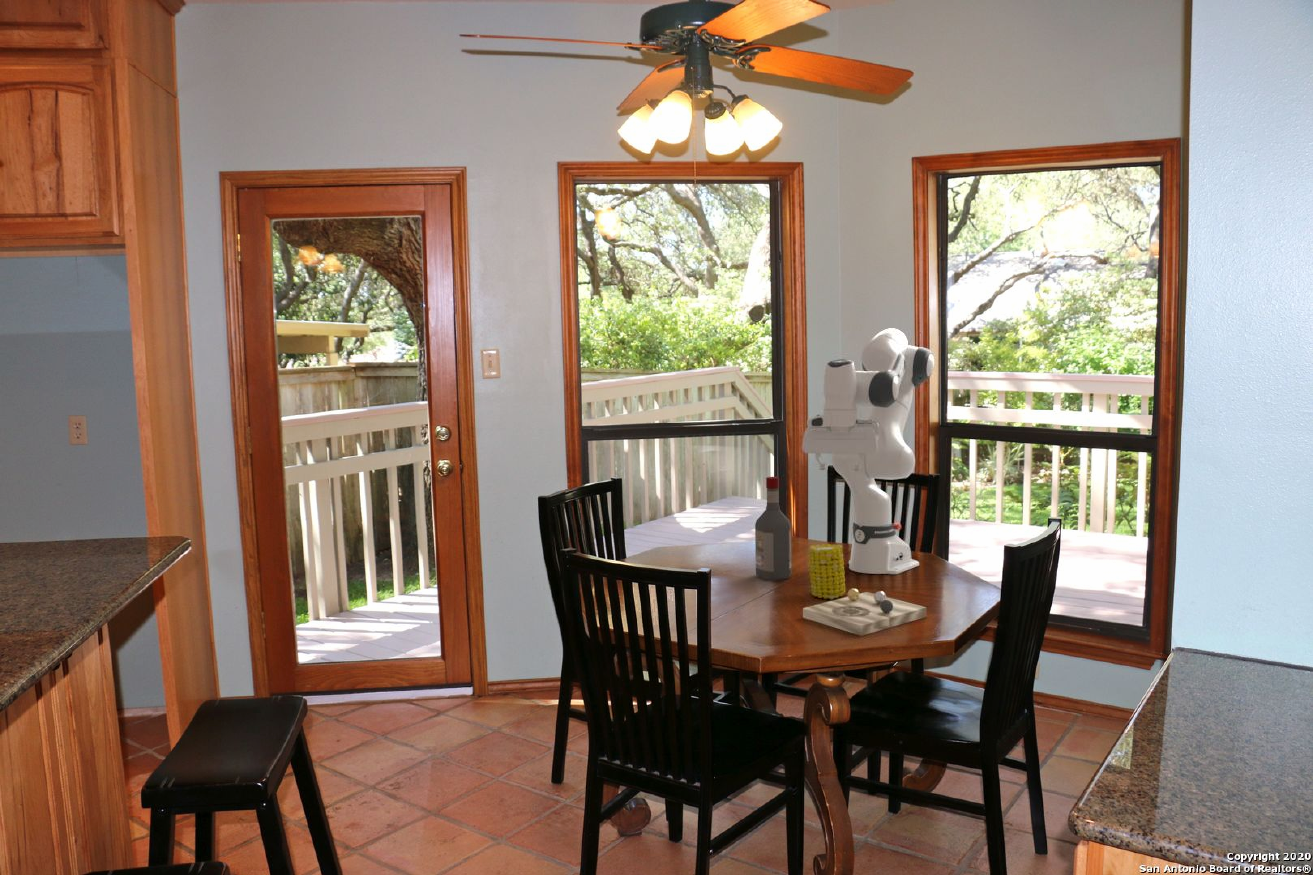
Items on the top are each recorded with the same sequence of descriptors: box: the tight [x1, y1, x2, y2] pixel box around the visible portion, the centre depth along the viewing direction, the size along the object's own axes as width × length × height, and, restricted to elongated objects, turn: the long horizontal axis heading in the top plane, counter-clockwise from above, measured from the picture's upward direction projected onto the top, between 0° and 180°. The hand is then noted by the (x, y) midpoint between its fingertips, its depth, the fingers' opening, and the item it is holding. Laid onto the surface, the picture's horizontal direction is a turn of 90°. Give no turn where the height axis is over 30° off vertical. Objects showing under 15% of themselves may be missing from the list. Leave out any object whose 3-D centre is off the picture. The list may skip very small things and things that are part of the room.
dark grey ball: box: [880, 600, 893, 613], centre depth 254 cm, size 3×3×3 cm
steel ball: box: [874, 590, 888, 604], centre depth 262 cm, size 3×3×3 cm
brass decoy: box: [846, 588, 860, 601], centre depth 266 cm, size 3×3×3 cm
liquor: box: [754, 476, 792, 582], centre depth 301 cm, size 9×9×30 cm
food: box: [808, 543, 846, 601], centre depth 280 cm, size 15×12×10 cm
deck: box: [802, 591, 927, 636], centre depth 259 cm, size 24×20×2 cm
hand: (839, 470), depth 276 cm, fingers open, 8 cm apart
